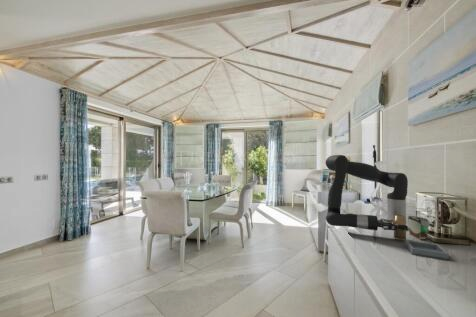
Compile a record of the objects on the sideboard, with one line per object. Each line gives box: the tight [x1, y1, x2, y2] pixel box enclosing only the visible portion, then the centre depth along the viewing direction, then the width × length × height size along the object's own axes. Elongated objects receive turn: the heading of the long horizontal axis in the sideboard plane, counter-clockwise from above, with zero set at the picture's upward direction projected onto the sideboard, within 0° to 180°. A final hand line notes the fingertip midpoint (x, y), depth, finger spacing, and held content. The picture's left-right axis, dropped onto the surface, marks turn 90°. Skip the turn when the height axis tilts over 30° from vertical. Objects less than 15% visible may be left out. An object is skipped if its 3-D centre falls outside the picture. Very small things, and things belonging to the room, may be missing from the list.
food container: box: [407, 215, 431, 241], centre depth 115 cm, size 12×6×10 cm, turn 168°
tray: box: [405, 239, 449, 261], centre depth 95 cm, size 12×12×2 cm
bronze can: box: [393, 215, 407, 241], centre depth 110 cm, size 5×5×11 cm
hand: (406, 226), depth 109 cm, fingers closed on bronze can, 5 cm apart
